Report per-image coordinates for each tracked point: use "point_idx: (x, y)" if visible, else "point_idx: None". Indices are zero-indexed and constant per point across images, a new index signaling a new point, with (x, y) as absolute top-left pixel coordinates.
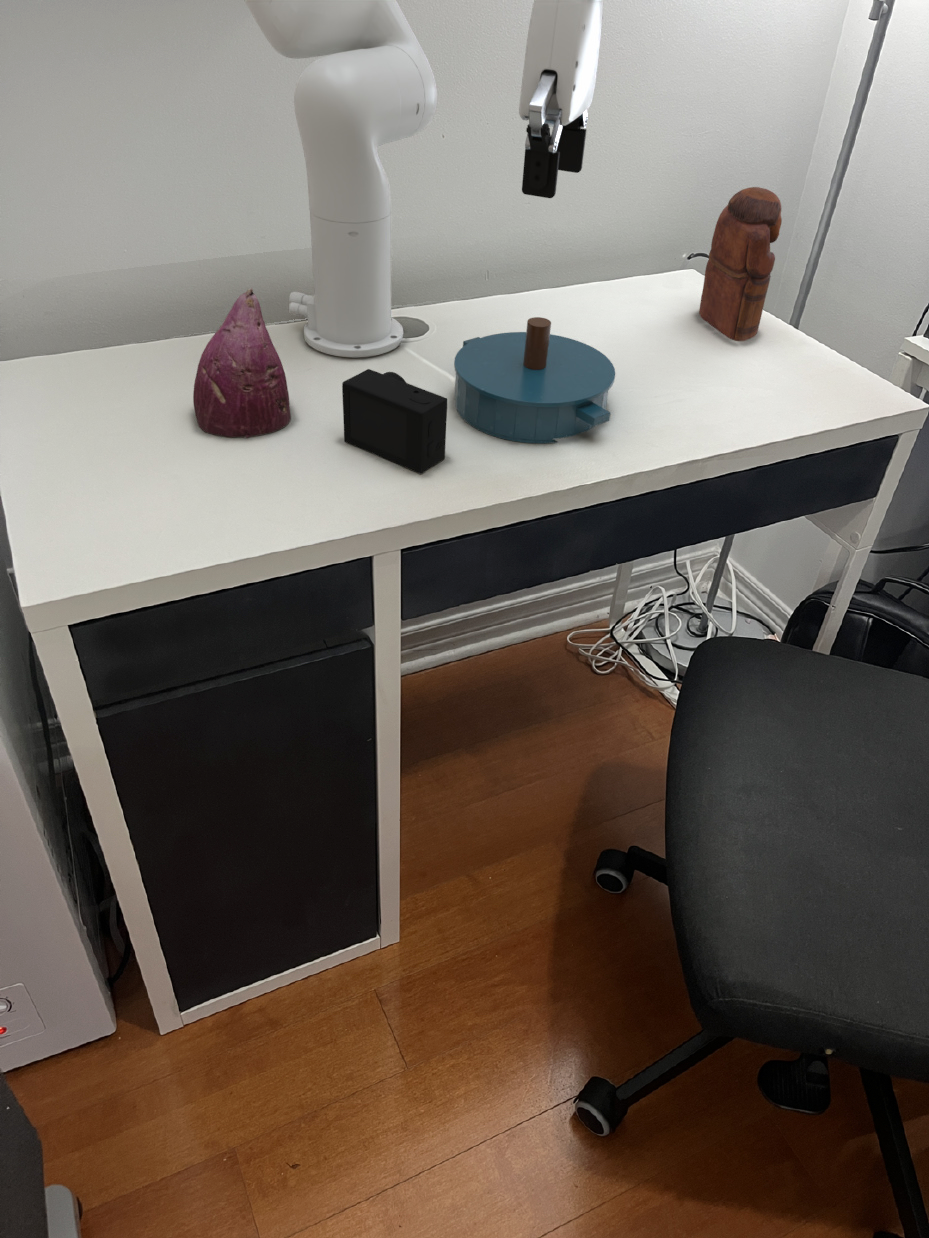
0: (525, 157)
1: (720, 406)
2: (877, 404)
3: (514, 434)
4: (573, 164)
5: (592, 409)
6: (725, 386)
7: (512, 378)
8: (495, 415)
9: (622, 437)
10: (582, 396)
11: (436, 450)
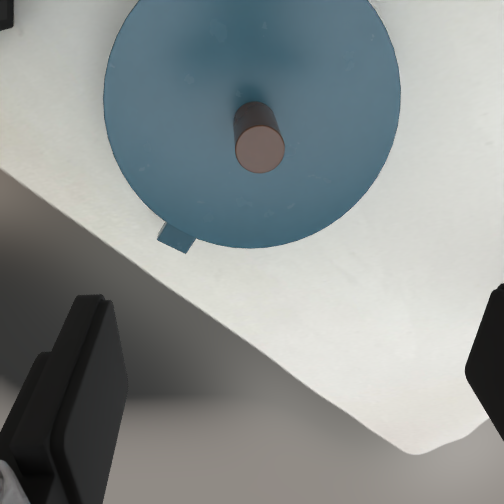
0: (31, 407)
1: (352, 320)
2: (410, 433)
3: None
4: (482, 375)
5: (180, 231)
6: (411, 316)
7: (181, 103)
8: None
9: None
10: (179, 223)
11: (11, 8)
